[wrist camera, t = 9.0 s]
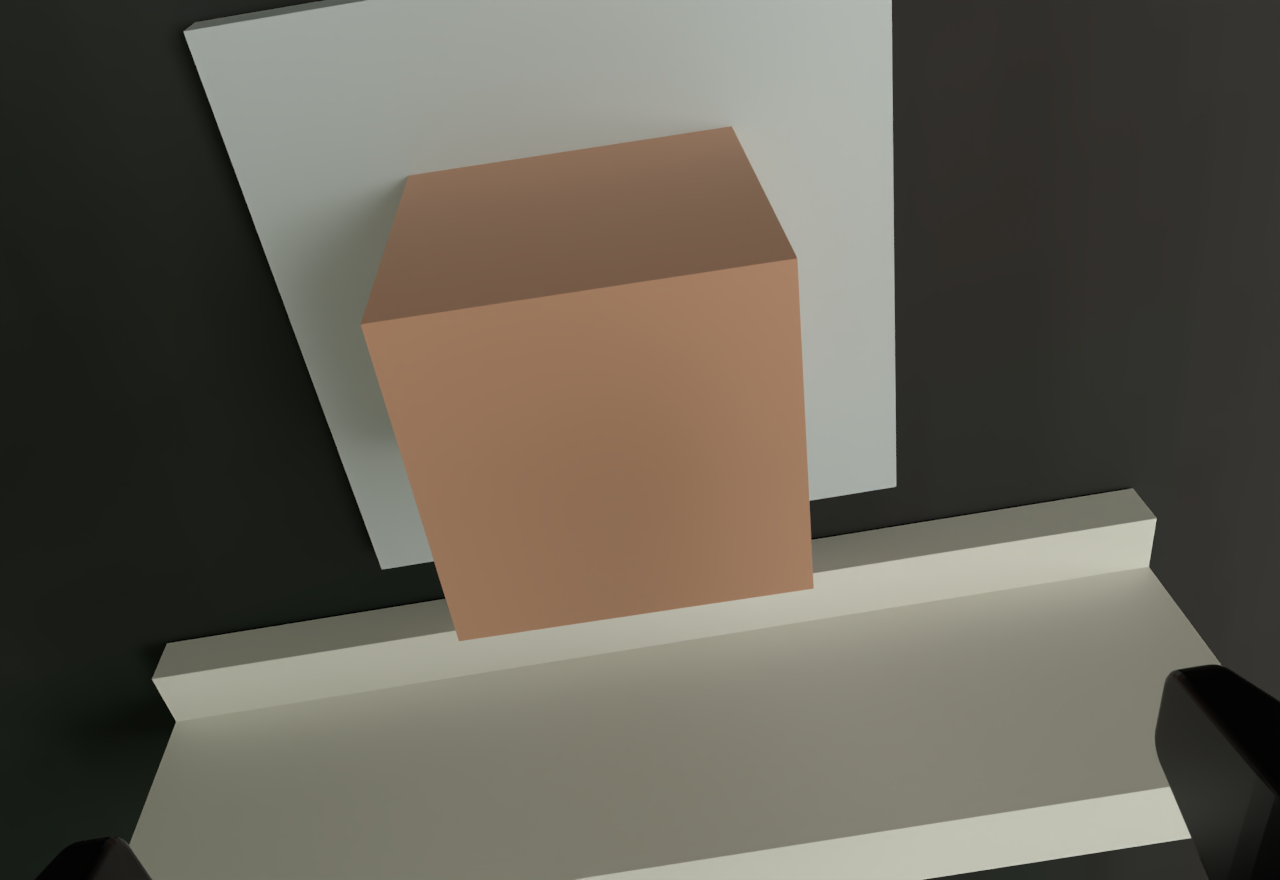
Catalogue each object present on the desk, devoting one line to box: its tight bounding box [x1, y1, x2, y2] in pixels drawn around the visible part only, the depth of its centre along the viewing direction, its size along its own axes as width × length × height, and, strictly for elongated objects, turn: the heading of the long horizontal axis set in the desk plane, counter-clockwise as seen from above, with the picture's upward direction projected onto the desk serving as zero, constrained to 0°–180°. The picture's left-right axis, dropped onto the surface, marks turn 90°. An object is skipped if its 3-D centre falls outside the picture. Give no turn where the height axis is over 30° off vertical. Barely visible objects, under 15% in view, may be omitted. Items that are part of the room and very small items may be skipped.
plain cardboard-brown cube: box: [360, 126, 814, 641], centre depth 15 cm, size 5×5×5 cm
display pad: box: [183, 0, 896, 569], centre depth 18 cm, size 10×10×1 cm
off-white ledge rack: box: [129, 488, 1222, 880], centre depth 20 cm, size 4×20×6 cm, turn 98°
